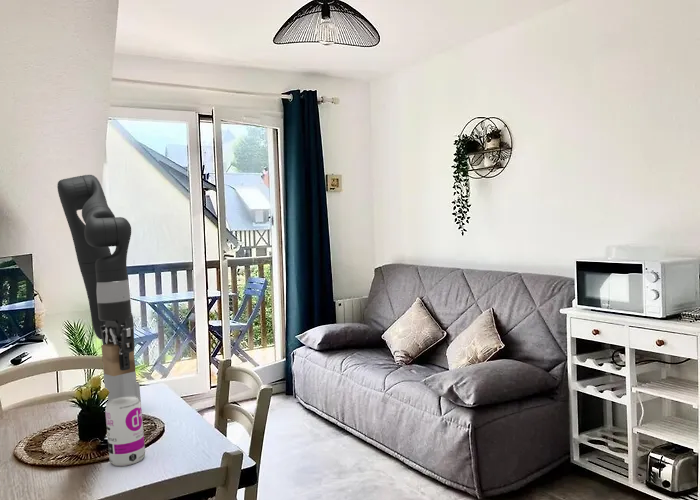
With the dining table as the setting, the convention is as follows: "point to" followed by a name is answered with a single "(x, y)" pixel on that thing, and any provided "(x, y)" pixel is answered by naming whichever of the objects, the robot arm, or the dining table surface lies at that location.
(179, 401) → the dining table surface
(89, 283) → the robot arm
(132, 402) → the supplement can
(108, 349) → the beige wooden block
